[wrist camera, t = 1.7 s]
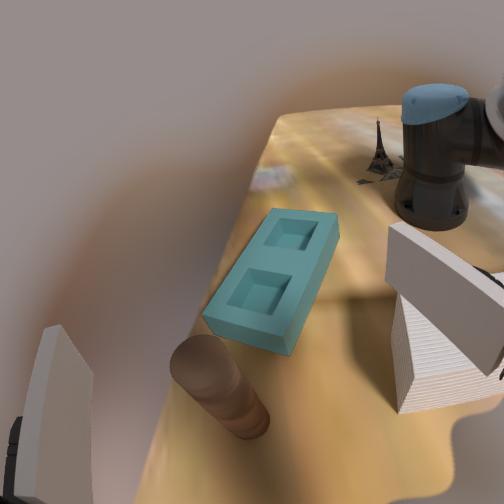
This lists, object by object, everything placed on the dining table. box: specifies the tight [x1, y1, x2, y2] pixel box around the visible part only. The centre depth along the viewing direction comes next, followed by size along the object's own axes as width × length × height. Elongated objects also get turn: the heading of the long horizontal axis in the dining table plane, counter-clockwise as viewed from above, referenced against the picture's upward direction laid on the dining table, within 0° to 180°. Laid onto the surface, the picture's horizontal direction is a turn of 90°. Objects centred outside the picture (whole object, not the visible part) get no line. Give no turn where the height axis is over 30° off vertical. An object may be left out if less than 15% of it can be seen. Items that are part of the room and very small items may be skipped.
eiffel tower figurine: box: [357, 117, 404, 185], centre depth 63 cm, size 15×10×13 cm
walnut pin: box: [170, 335, 270, 440], centre depth 29 cm, size 5×5×16 cm
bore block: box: [202, 208, 340, 356], centre depth 49 cm, size 24×12×5 cm, turn 153°
